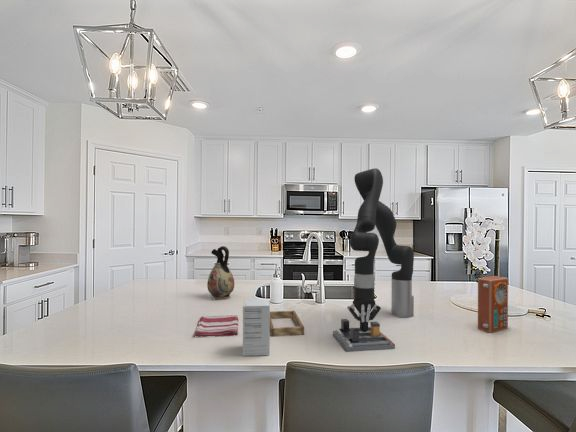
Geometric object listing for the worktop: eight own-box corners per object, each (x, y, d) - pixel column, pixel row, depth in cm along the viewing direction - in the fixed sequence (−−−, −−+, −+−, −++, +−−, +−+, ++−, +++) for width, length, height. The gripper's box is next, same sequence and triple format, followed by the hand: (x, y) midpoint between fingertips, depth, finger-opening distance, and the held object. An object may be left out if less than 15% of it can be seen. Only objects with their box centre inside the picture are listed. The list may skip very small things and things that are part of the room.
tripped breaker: (376, 334, 125) (376, 321, 125) (379, 337, 122) (379, 323, 122) (370, 335, 125) (370, 321, 125) (373, 337, 122) (373, 324, 122)
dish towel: (193, 339, 125) (193, 332, 125) (200, 320, 149) (200, 314, 149) (237, 337, 128) (237, 330, 128) (238, 318, 151) (238, 312, 151)
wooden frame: (294, 317, 152) (294, 310, 152) (304, 334, 129) (304, 327, 129) (266, 318, 150) (266, 311, 150) (271, 336, 127) (271, 328, 127)
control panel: (511, 328, 138) (490, 334, 131) (494, 323, 144) (473, 328, 137) (511, 277, 138) (490, 280, 131) (494, 275, 144) (473, 277, 137)
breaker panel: (375, 332, 132) (376, 316, 132) (395, 348, 116) (395, 330, 116) (333, 334, 129) (333, 318, 129) (346, 351, 113) (346, 332, 113)
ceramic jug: (201, 298, 185) (201, 246, 185) (221, 293, 198) (221, 244, 198) (222, 303, 175) (222, 247, 175) (241, 297, 188) (242, 245, 188)
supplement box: (269, 355, 109) (270, 305, 109) (242, 356, 109) (242, 306, 109) (269, 344, 119) (269, 298, 119) (243, 345, 118) (244, 299, 118)
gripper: (376, 282, 127) (376, 327, 127) (344, 283, 125) (343, 328, 125) (385, 286, 120) (384, 333, 120) (350, 288, 118) (350, 335, 118)
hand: (363, 331), depth 123 cm, fingers closed
